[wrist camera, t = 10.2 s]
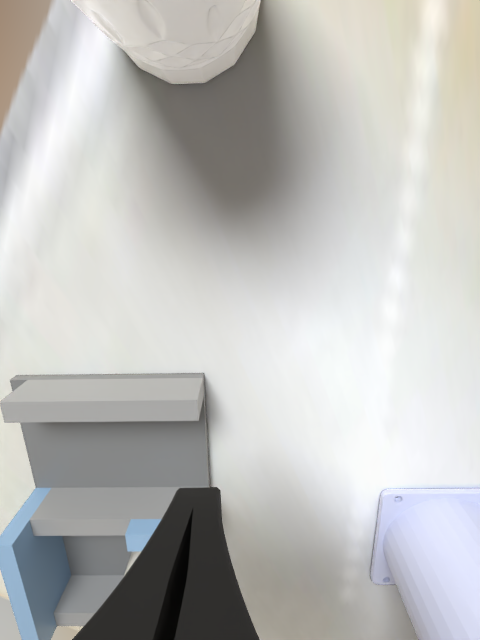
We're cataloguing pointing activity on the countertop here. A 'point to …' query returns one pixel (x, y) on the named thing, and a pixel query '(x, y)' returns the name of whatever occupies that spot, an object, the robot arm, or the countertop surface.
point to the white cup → (177, 34)
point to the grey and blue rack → (95, 484)
